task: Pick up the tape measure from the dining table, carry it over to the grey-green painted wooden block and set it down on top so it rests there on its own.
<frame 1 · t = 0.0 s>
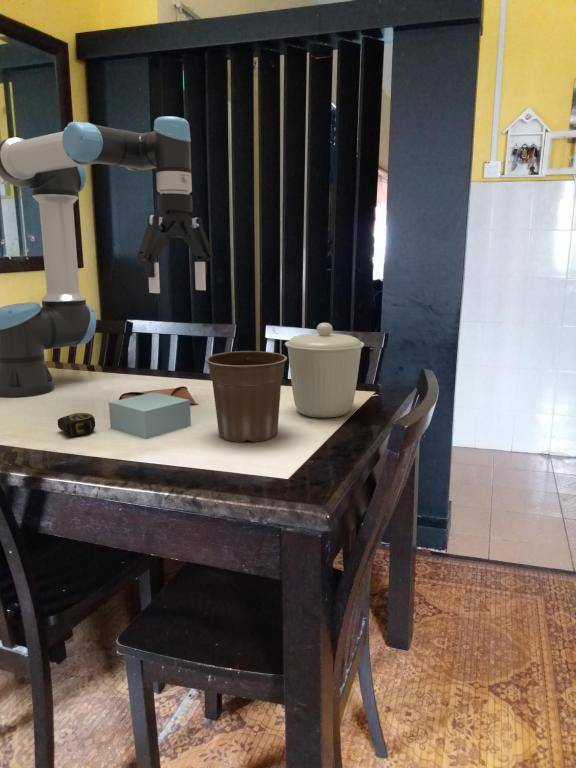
hand: (178, 291, 135), 28 cm above the table, fingers open, 13 cm apart
painted block: (151, 428, 128), on the table
tape measure: (75, 435, 123), on the table
canister: (323, 413, 140), on the table
plant pot: (247, 435, 123), on the table
sunglasses case: (160, 408, 146), on the table
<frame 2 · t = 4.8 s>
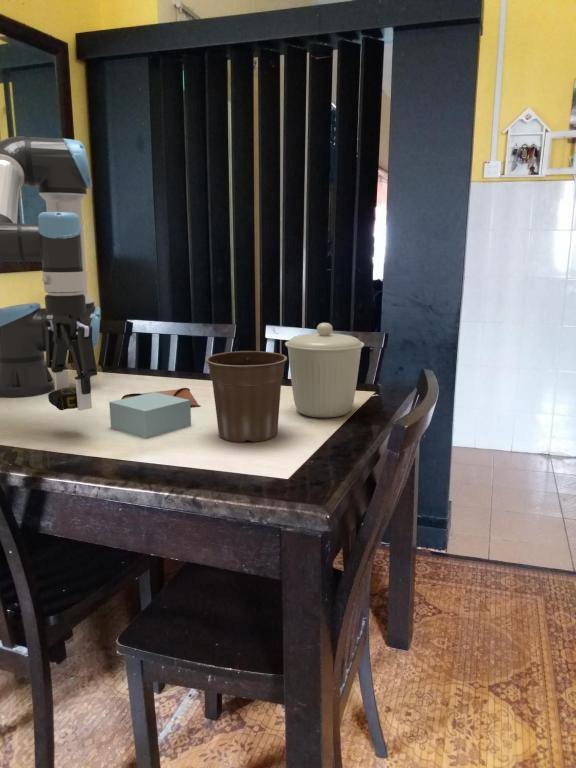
hand: (73, 405, 122), 6 cm above the table, fingers closed on tape measure, 7 cm apart
tape measure: (66, 409, 121), point 5 cm above the table, touching gripper
sunglasses case: (162, 410, 144), on the table
everything else where it was.
when the fingers open (6 cm above the table, at t = 9.6 s): tape measure stays where it is, resting on painted block.
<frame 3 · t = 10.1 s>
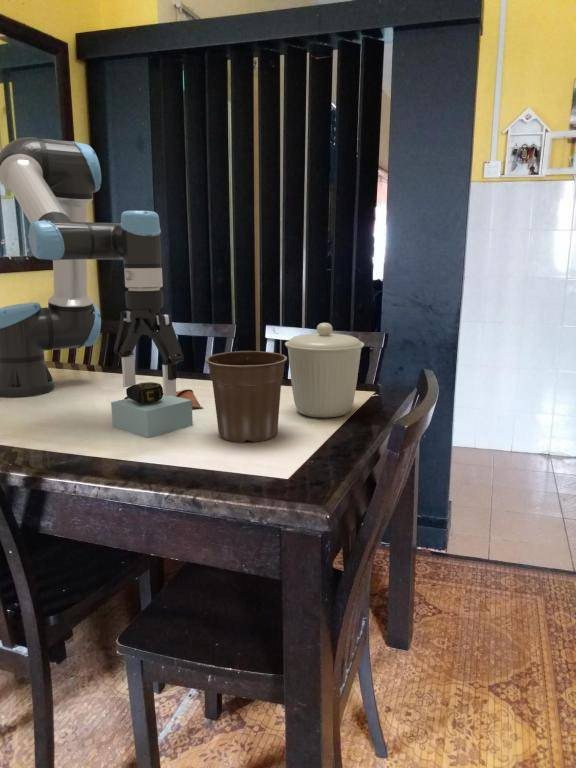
hand: (149, 390, 126), 8 cm above the table, fingers open, 13 cm apart
painted block: (153, 428, 129), on the table, touching tape measure
tape measure: (144, 403, 126), point 5 cm above the table, touching painted block
sunglasses case: (164, 411, 143), on the table
everything else where it was.
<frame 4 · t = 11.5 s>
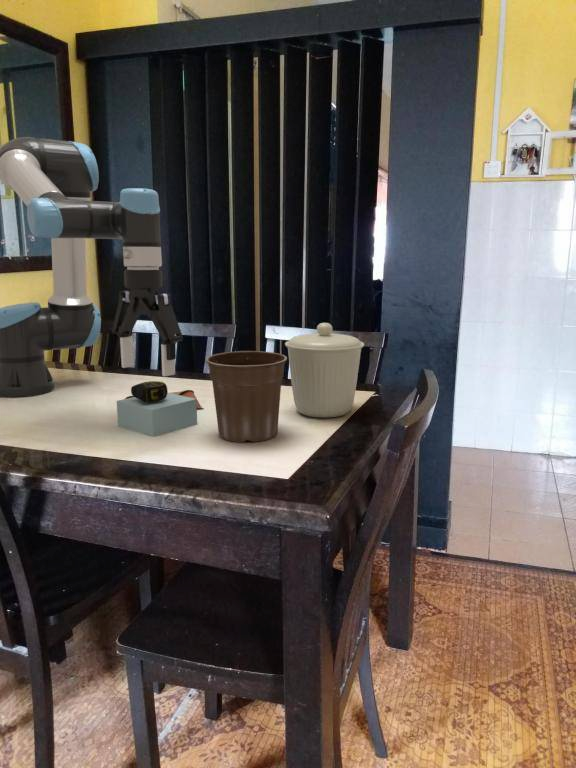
hand: (147, 371, 126), 12 cm above the table, fingers open, 13 cm apart
painted block: (158, 426, 130), on the table, touching tape measure
tape measure: (148, 402, 127), point 5 cm above the table, touching painted block
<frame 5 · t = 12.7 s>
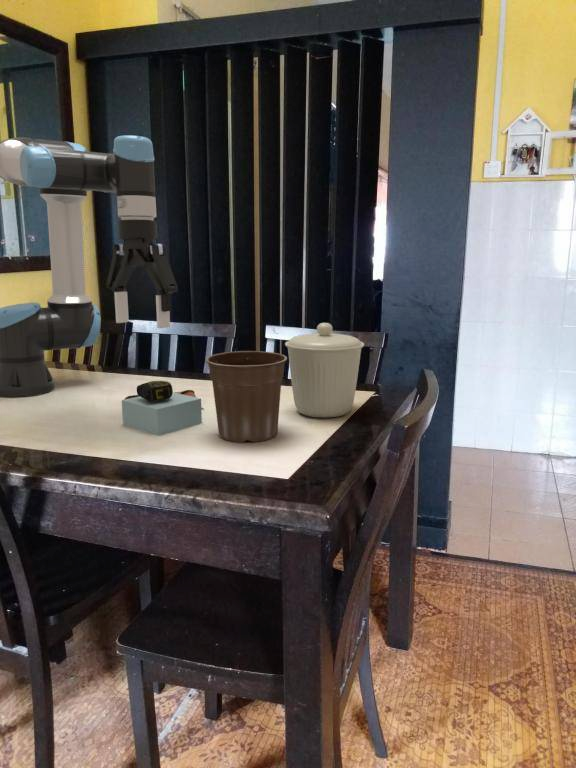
hand: (142, 325, 124), 22 cm above the table, fingers open, 13 cm apart
painted block: (162, 426, 130), on the table, touching tape measure
tape measure: (154, 401, 127), point 5 cm above the table, touching painted block
everything else where it was.
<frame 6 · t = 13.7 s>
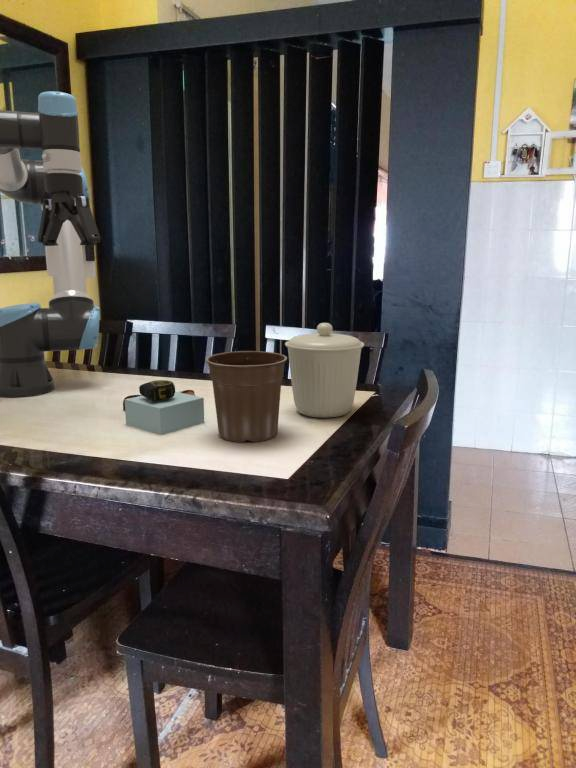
hand: (70, 276, 129), 32 cm above the table, fingers open, 13 cm apart
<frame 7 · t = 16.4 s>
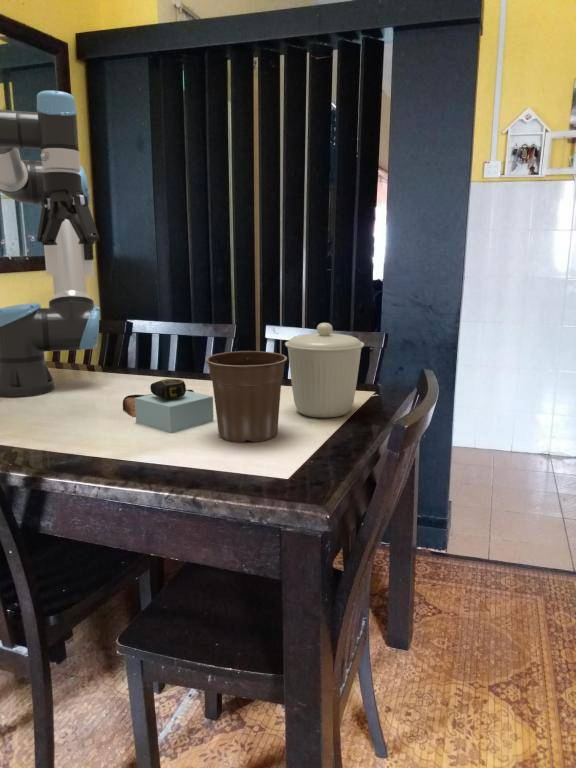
hand: (69, 275, 129), 32 cm above the table, fingers open, 13 cm apart
painted block: (175, 423, 132), on the table, touching tape measure
tape measure: (167, 399, 129), point 5 cm above the table, touching painted block
everything else where it was.
at the end: tape measure inside the target area on the painted block (1.9 cm from its centre), point 5.8 cm above the painted block's base; tape measure touching painted block; the gripper is holding nothing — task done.
